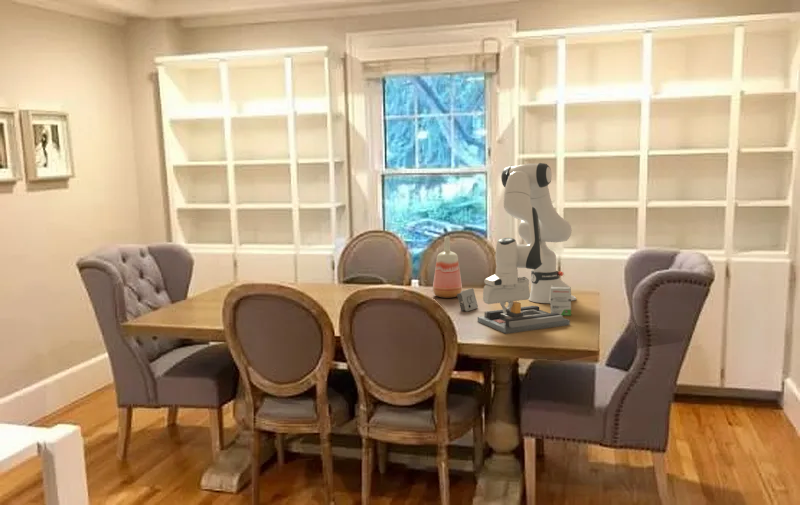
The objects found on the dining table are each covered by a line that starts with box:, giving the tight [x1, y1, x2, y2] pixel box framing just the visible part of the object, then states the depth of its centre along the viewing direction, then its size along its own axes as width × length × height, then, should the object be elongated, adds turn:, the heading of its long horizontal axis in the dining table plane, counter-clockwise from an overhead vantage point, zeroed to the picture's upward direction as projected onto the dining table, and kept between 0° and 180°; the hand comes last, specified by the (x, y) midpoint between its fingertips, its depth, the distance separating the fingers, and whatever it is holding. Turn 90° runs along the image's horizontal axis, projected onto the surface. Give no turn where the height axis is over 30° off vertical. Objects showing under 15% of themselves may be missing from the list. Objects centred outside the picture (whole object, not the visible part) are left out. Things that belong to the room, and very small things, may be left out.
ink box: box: [550, 286, 572, 316], centre depth 286 cm, size 9×5×12 cm, turn 76°
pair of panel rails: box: [483, 305, 564, 328], centre depth 272 cm, size 24×21×2 cm
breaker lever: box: [507, 301, 523, 317], centre depth 271 cm, size 4×6×7 cm, turn 22°
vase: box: [432, 236, 463, 299], centre depth 327 cm, size 14×14×30 cm
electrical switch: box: [457, 287, 479, 312], centre depth 300 cm, size 9×5×9 cm, turn 141°
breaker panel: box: [477, 309, 571, 334], centre depth 273 cm, size 30×22×4 cm
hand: (506, 312), depth 269 cm, fingers closed
